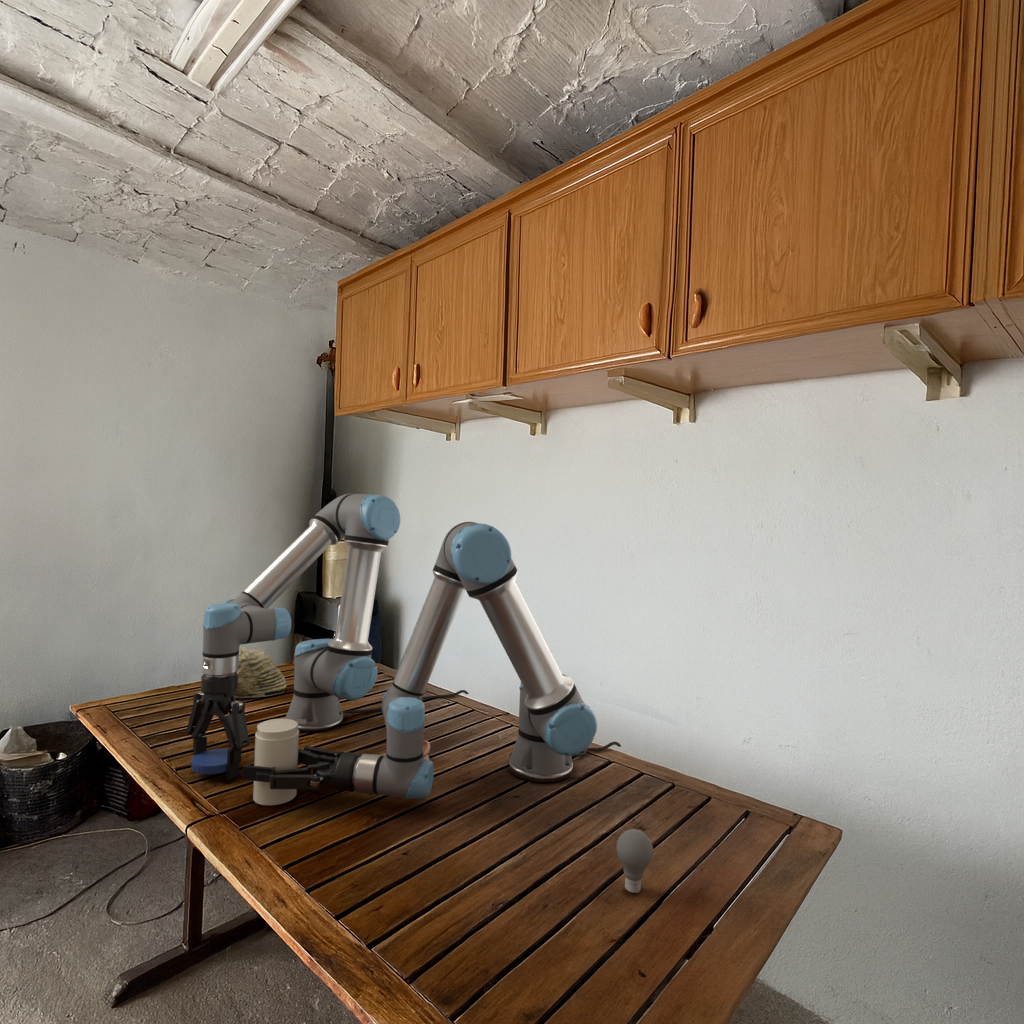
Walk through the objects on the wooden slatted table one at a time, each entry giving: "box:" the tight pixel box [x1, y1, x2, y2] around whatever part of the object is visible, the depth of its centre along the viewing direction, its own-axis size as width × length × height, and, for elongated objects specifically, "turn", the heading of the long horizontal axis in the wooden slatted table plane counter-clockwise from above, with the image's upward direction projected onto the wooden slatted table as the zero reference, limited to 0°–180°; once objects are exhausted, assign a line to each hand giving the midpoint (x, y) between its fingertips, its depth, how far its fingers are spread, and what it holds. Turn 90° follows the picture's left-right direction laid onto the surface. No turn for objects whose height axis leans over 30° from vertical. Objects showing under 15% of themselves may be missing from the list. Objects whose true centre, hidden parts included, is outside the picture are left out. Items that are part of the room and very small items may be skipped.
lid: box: [190, 748, 229, 775], centre depth 142 cm, size 10×10×2 cm
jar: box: [252, 718, 300, 806], centre depth 133 cm, size 9×9×15 cm
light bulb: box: [615, 828, 654, 894], centre depth 106 cm, size 6×6×10 cm
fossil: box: [234, 646, 288, 699], centre depth 198 cm, size 9×18×15 cm, turn 132°
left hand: (215, 772), depth 142 cm, fingers closed on lid, 10 cm apart
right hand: (255, 762), depth 134 cm, fingers closed on jar, 9 cm apart
